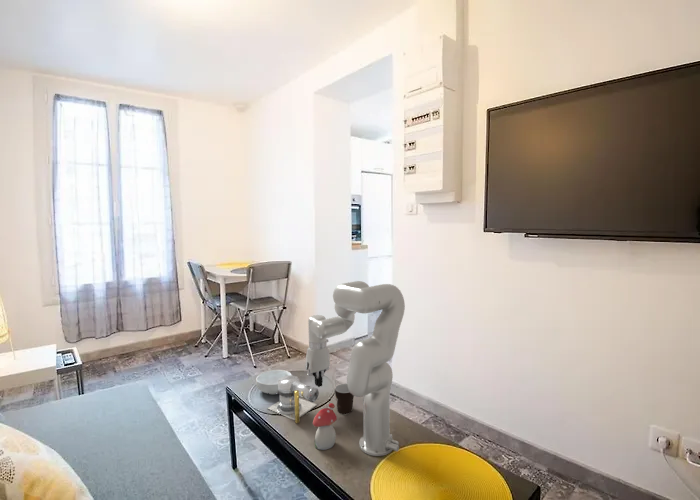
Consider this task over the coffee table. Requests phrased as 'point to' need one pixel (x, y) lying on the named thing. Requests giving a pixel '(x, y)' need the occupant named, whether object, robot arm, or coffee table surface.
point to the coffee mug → (343, 399)
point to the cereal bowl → (270, 380)
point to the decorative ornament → (325, 428)
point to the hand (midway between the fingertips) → (318, 385)
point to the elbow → (296, 388)
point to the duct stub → (292, 406)
